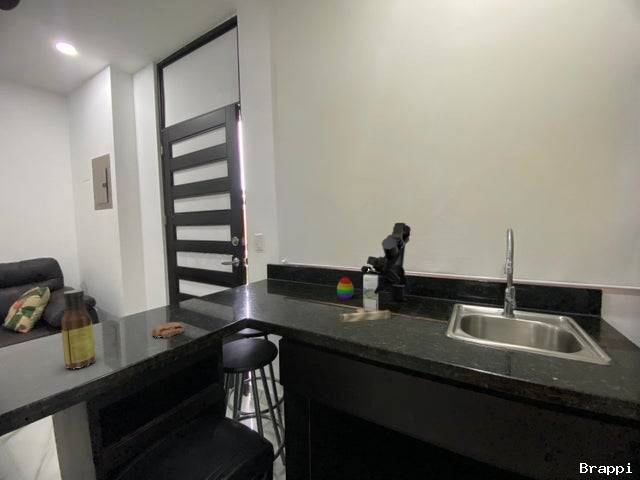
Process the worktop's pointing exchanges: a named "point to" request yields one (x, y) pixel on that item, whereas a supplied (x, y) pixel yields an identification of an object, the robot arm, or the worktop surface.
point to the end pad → (361, 310)
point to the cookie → (167, 329)
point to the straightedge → (364, 316)
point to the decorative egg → (345, 288)
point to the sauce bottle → (77, 331)
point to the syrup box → (370, 293)
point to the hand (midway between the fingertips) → (368, 291)
